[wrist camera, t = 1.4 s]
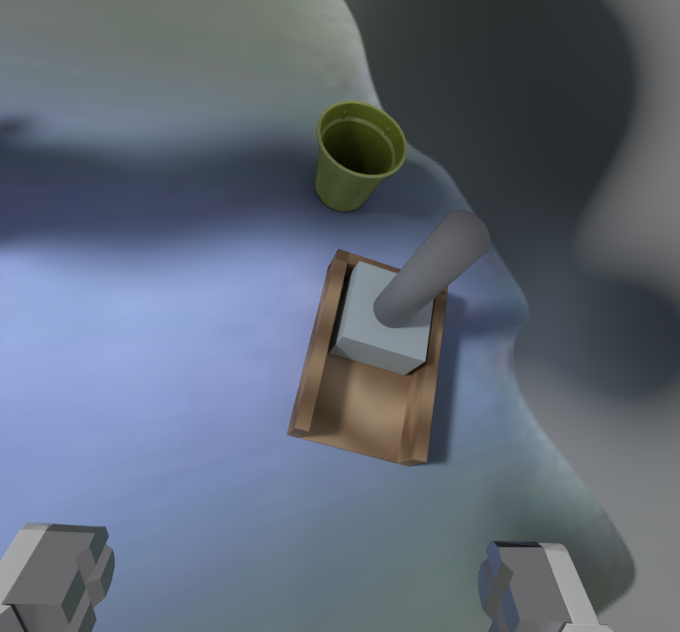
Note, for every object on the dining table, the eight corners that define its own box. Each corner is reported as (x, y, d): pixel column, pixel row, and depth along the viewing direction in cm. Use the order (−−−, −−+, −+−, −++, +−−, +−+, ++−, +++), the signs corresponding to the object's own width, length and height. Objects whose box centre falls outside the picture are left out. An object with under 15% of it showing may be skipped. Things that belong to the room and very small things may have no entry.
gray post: (344, 282, 51) (420, 168, 34) (414, 305, 52) (521, 205, 35) (328, 353, 48) (403, 264, 31) (403, 375, 49) (516, 302, 32)
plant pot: (290, 209, 53) (307, 157, 45) (309, 145, 57) (328, 87, 49) (370, 236, 55) (400, 190, 47) (383, 172, 59) (413, 120, 51)
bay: (328, 267, 52) (338, 248, 48) (431, 300, 54) (448, 285, 50) (286, 434, 44) (295, 427, 41) (408, 466, 46) (426, 462, 43)
